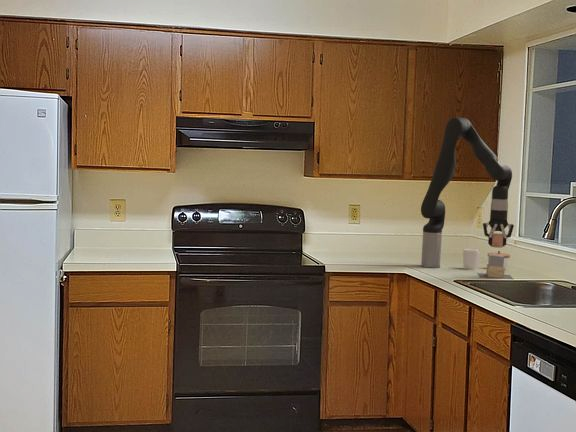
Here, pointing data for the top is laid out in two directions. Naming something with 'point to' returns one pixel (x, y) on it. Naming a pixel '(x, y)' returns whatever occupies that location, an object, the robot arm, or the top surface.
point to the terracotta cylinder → (497, 240)
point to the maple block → (495, 271)
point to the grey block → (496, 260)
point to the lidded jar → (506, 258)
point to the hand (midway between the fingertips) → (496, 245)
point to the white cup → (471, 259)
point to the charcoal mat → (483, 275)
